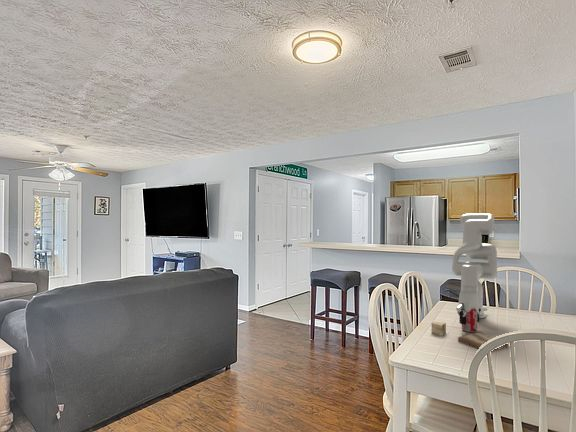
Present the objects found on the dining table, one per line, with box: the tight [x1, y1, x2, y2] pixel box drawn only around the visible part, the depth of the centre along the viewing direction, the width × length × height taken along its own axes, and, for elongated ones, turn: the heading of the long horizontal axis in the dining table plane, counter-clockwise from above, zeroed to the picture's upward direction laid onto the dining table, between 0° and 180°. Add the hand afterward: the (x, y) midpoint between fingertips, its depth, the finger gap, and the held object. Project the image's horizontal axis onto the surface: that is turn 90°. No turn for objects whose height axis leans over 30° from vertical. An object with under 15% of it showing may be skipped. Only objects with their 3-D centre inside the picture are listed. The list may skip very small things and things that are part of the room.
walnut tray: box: [457, 332, 509, 351], centre depth 153 cm, size 14×14×2 cm
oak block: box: [431, 320, 447, 336], centre depth 168 cm, size 5×5×5 cm
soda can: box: [461, 308, 478, 333], centre depth 171 cm, size 7×7×12 cm
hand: (469, 322), depth 171 cm, fingers open, 9 cm apart
